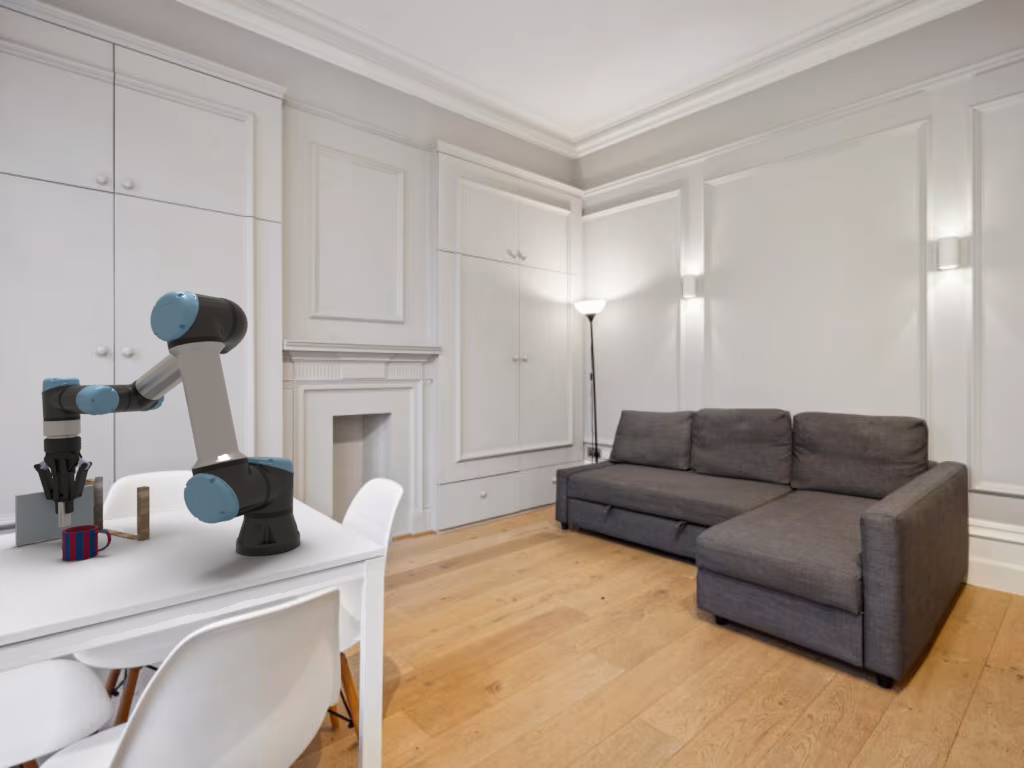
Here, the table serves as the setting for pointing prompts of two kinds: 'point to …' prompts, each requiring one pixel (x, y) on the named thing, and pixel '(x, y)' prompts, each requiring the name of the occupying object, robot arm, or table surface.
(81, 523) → the door
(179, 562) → the table surface
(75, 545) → the mug
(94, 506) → the doorframe
